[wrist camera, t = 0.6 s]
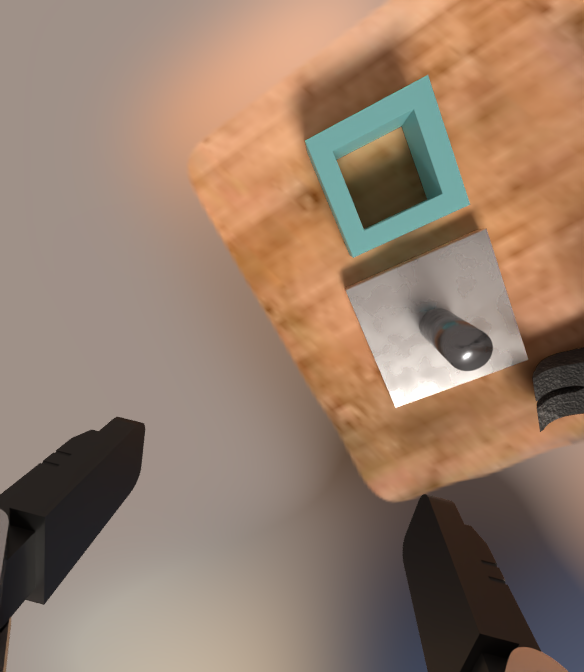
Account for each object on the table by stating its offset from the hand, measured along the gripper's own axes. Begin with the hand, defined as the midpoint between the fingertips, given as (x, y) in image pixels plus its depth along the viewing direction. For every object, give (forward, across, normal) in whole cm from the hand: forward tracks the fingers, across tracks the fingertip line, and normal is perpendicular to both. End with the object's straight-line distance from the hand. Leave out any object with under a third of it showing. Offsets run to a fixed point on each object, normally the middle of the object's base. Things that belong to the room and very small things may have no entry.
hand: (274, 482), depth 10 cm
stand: (+24, -11, -2) cm, 26 cm away
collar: (+24, -3, -12) cm, 27 cm away
